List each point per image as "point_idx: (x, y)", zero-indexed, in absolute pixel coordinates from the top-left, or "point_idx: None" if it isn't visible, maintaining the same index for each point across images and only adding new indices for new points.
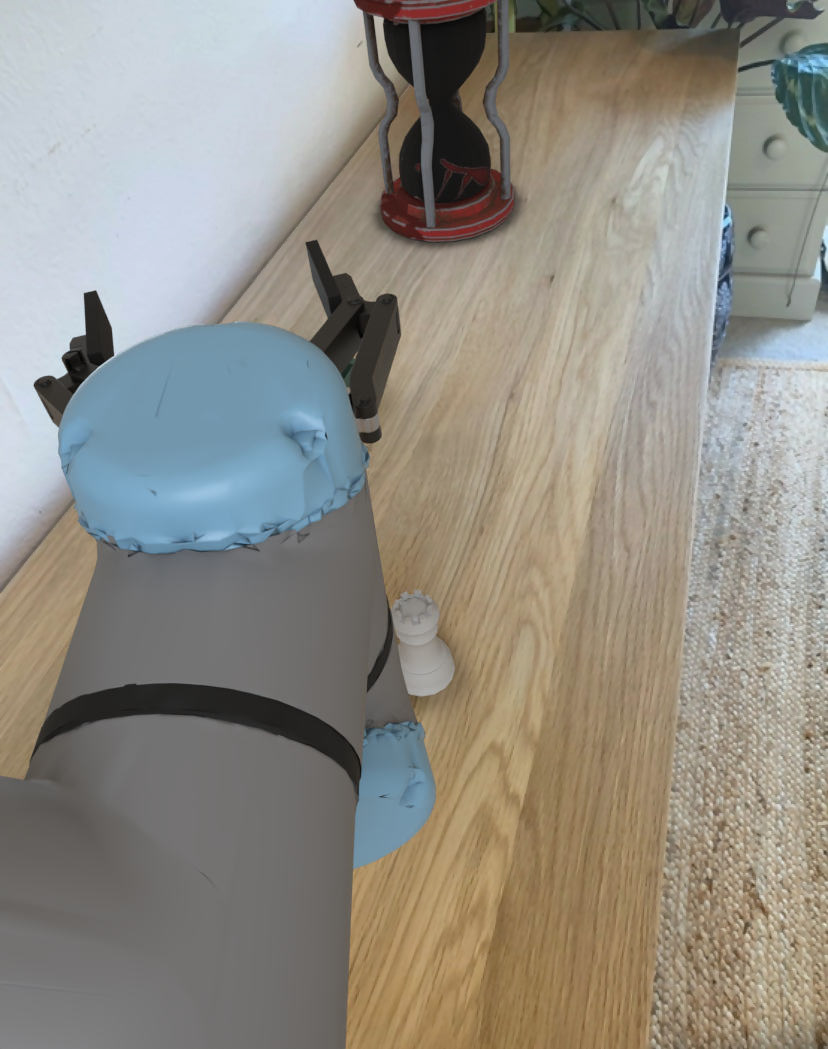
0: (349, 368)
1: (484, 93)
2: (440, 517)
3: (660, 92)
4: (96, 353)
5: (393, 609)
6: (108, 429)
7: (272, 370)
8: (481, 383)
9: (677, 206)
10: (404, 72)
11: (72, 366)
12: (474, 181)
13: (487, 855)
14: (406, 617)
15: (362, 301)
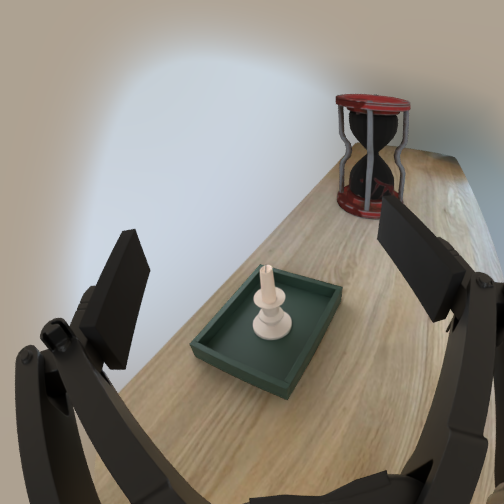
0: (332, 291)
1: (395, 151)
2: (394, 413)
3: (442, 171)
4: (90, 327)
5: None
6: None
7: None
8: (410, 307)
9: (470, 217)
10: (359, 135)
11: (54, 343)
12: (388, 191)
13: None
14: None
15: (494, 284)
